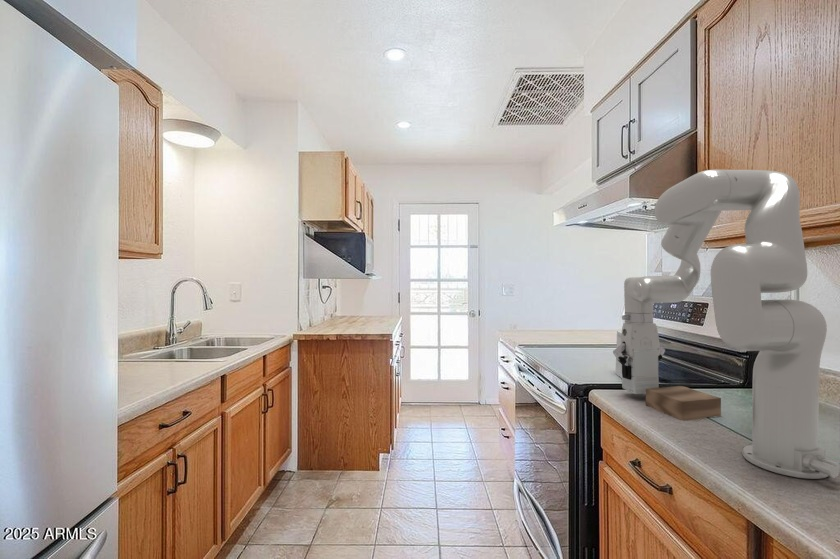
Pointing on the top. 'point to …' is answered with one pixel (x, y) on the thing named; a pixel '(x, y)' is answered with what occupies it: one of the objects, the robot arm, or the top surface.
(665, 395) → the walnut block
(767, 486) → the top surface
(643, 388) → the supplement box
